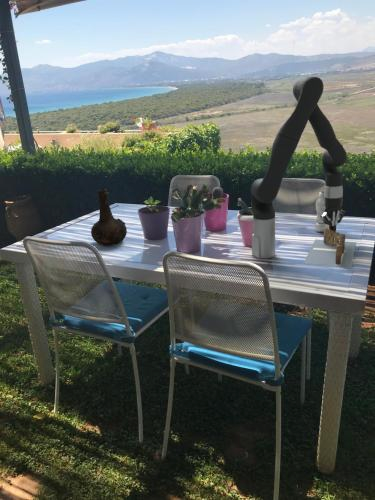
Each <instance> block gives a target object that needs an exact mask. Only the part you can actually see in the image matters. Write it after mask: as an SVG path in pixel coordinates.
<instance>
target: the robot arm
mask: <svg viewBox="0 0 375 500" xmlns="http://www.w3.org/2000/svg"><path fill="white" fill-rule="evenodd" d="M323 93H324V82H323V80H322V79H321V78H320V77H319V76H302V77H299V78H297V79H296V80H295V81H294V83H293V86H292V94H293V97H294V98H295V100H296V102H297V103H296V106H295V107H294V110H293V111H292V112H291V114H290V116H288V118H287V119H286V120H285V121H284V122H283V124H281V126H280V127H279V129H278V131H277V134H276V135H275V137H274V140H273V143H272V145H271V150H270V157H269V163H268V167H267V170H266V173H265V174H264V177H263V178H258V179H256V180H255V181H253V183H252V185H251V188H250V201H251V202H250V203H251V211H252V220H253V234H252V237H251V255H252V256H254V257H256V259H271V258H274V257H276V211H275V208H274V205H273V201H274V200H275V199H276V198H277V196H278V194H279V191H280V188H281V185H282V182H283V180H284V179H283V178H284V176H285V174H286V171H287V169H288V167H289V165H290V162H291V160H292V158H293V156H294V153H295V152H296V149H297V147H298V145H299V143H300V140H301V137H302V135H303V133H304V130H305V128H306V127H307V124H308V122H309V124H310V125H311V128H312V130H313V132H314V134H315V137H316V140H317V142H318V144H319V146H320V147H321V148H322V149H324V150H325V151H324V152H323V153H322V158H321V163H322V164H321V165H322V169H323V173H324V176H325V177H324V178H325V183H324V185H325V187H324V192H325V195H324V205H325V211H324V212H325V213H324V214H323V215H320V217H321V219H322V220H323V221H324V223H325V224H327V225H329V229H330V230H331V231H332V230H333V231H335V232H337V226H338V224H340V223H341V222H342V220H343V219H344V217H345V215H346V211H345V210H343V209H342V208H343V207H342V206H343V196H344V194H343V193H344V189H343V180H344V179H343V178H344V177H343V173H342V171H340V170H338V168H339V167H343V166H344V165H345V164H346V163H347V160H348V154H347V152H346V149H345V148H344V146H343V145H342V143H341V142H340V141H339V140H338V138H337V135H336V133H335V130H334V128H333V126H332V124H331V121H329V119H328V118H327V117H326V115H325V114H324V112H323V111H322V110H321V108H320V106H319V105H318V103H319V102H320V100H321V97H322V95H323ZM337 167H338V168H337Z"/></svg>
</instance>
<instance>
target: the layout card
mask: <svg viewBox="0 0 375 500" xmlns="http://www.w3.org/2000/svg"><path fill="white" fill-rule="evenodd" d="M356 245H357V241H346V240H345V248H344V253H343V254H342V256H341V264H335V262H336V248H335V247H334V246H330V245H328V244H326V243H324V239H314V241H313V244H312V246H311V248H310V250H309V252H308V254H307V256H306V257H305V260H304V261H303V264H307V265H315V266H327V267H336V268H337V267H338V268H346V269H347V268H349V269H350V268H352V263H353V259H354V255H355V251H356Z"/></svg>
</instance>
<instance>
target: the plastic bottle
mask: <svg viewBox="0 0 375 500" xmlns="http://www.w3.org/2000/svg"><path fill="white" fill-rule="evenodd" d="M324 195H325V190H324V191H319V193H318V198H317V199H316V201H315V209H316V219H315V220H316V221H315V225H314V229H315V231H316V232H317V233H324V228H328V229H329V225H327V224H325V223H324V221H323V220H322V219H321V217H320V215H323V214H324V213H325V212H324V211H325V205H324Z"/></svg>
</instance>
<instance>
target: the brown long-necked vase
mask: <svg viewBox="0 0 375 500" xmlns="http://www.w3.org/2000/svg"><path fill="white" fill-rule="evenodd" d="M109 194H110V192H109V191H108V190H107V188H100V189H98V190H97V193H96V196H98V204H99V206H98V207H99V217H98V220H97V221H96V222H95V223H93V224H92V227H91V229H90V235H91V238H92V239H93V240H94V241H95V243H97V244H98V245H100V246H105V247H109V246H110V247H111V246H115V245H118V244H120V243H122V242H123V241H124V240H125V238H126V236H127V234H128V233H127V232H128V231H127V226H126V222H124V220H122V219H120V218H115V217H114V216H113V215H114V214H113V213H112V210H111V206H110V201H109V196H108V195H109Z"/></svg>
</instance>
